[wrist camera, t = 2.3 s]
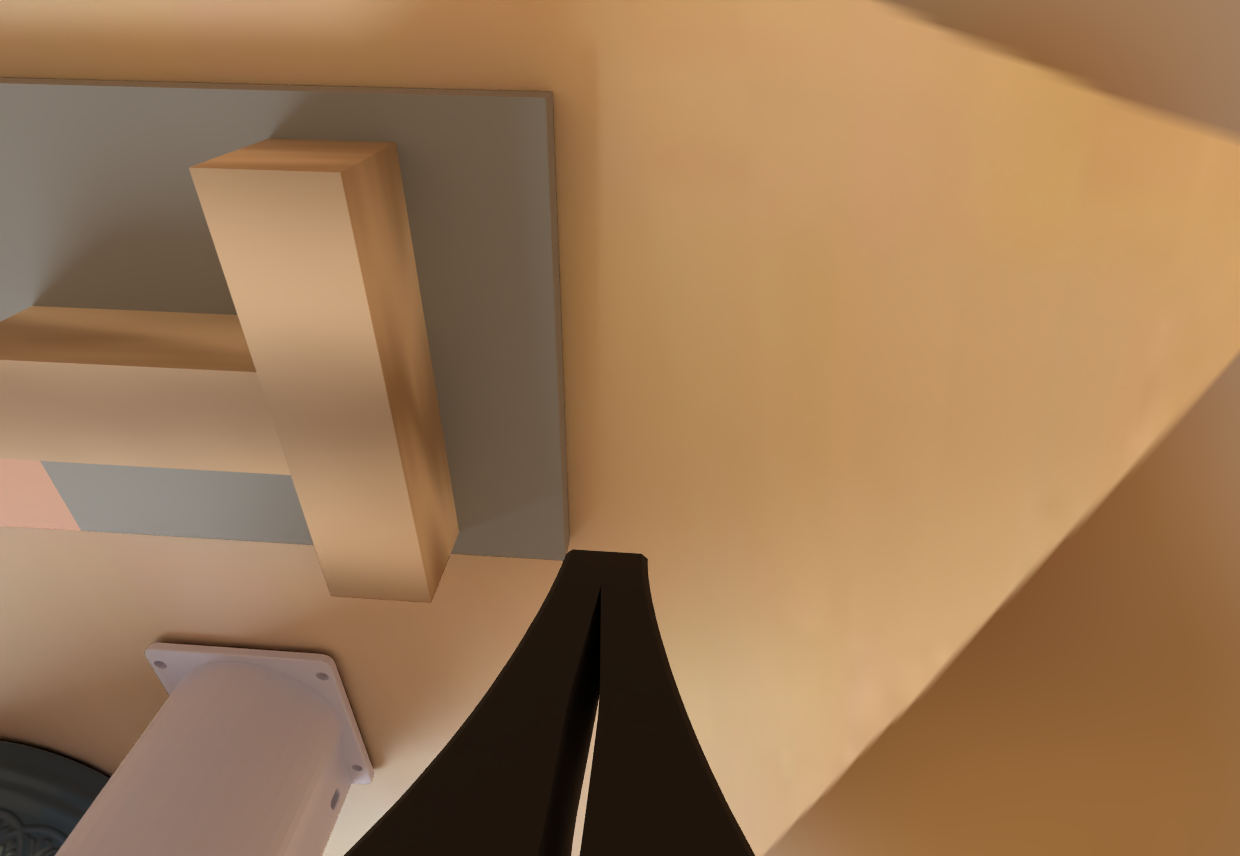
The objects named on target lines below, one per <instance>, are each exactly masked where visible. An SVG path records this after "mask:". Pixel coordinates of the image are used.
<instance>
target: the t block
mask: <svg viewBox="0 0 1240 856" xmlns="http://www.w3.org/2000/svg"><path fill="white" fill-rule="evenodd" d="M189 170H190V173H191V176H192V179H193V182H194V185H195V188H196V191H197V194H198V197H199V200H200V203H201V206H202V209H203V212H204V215H205V218H206V221H207V224H208V227H209V230H210V233H211V236H212V239H213V242H214V245H215V248H216V251H217V254H218V258H219V261H220V264H221V267H222V270H223V273H224V276H225V279H226V282H227V285H228V288H229V291H230V294H231V297H232V300H233V303H234V306H235V309H236V312H237V315H226V314H204V313H181V312H158V311H136V310H113V309H91V308H68V307H46V306H31V307H29V308H27V309H25V310H23V311H21V312H19V313H17V314H15V315H13V316H11V317H9V318H7V319H5V320H3V321H0V459H15V460H33V461H51V462H68V463H86V464H103V465H121V466H139V467H156V468H174V469H192V470H209V471H227V472H245V473H262V474H280V475H291V477H292V480H293V483H294V486H295V489H296V492H297V495H298V498H299V501H300V504H301V507H302V510H303V513H304V516H305V520H306V523H307V526H308V529H309V532H310V535H311V538H312V541H313V544H314V547H315V550H316V553H317V556H318V559H319V562H320V565H321V568H322V571H323V574H324V577H325V580H326V583H327V586H328V589H329V592H330V595H331V596H336V597H352V598H367V599H382V600H397V601H412V602H427V603H431V602H432V599H433V597H434V594H435V592H436V589H437V587H438V584H439V582H440V579H441V577H442V574H443V572H444V569H445V567H446V564H447V562H448V559H449V557H450V554H451V552H452V549H453V547H454V544H455V542H456V539H457V537H458V534H459V528H458V522H457V516H456V510H455V504H454V497H453V491H452V485H451V479H450V473H449V467H448V460H447V454H446V448H445V442H444V436H443V430H442V424H441V417H440V411H439V405H438V399H437V393H436V387H435V380H434V374H433V368H432V362H431V356H430V350H429V343H428V337H427V331H426V325H425V319H424V313H423V306H422V300H421V294H420V288H419V282H418V276H417V270H416V263H415V257H414V251H413V245H412V239H411V233H410V226H409V220H408V214H407V208H406V202H405V196H404V189H403V183H402V177H401V171H400V165H399V159H398V153H397V146H396V142H370V141H337V140H304V139H271V138H268V139H266V140H263V141H260V142H257V143H255V144H252V145H249V146H246V147H244V148H241V149H238V150H235V151H233V152H230V153H227V154H224V155H222V156H219V157H216V158H213V159H211V160H208V161H205V162H202V163H200V164H197V165H194V166H191V167H189Z"/></svg>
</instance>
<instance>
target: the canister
mask: <svg viewBox="0 0 1240 856" xmlns="http://www.w3.org/2000/svg"><path fill="white" fill-rule="evenodd" d="M109 779H110V778H109V777H107V776H105V775H103V774H102V773H100V772H98V771H96V770H94V769H92V768H89V767H87V766H85V765H83V764H81V763H78V762H76V761H74V760H71V759H69V758H66V757H63V756H60V755H58V754H55V753H52V752H48V751H45V750H42V749H38V748H35V747H31V746H27V745H23V744H18V743H13V742H7V741H1V740H0V856H55V854H56V853H57V852H58V850H59V849H60V847H61V846H62V845H63V843H64V842H65V840H66V839H67V838H68V836H69V835H70V834H71V832H72V831H73V829H74V828H75V827H76V825H77V824H78V822H79V821H80V820H81V818H82V817H83V815H84V814H85V813H86V811H87V810H88V808H89V807H90V806H91V804H92V803H93V801H94V800H95V799H96V797H97V796H98V794H99V793H100V792H101V790H102V789H103V788H104V786H105V785H106V783H107V782H108V781H109Z"/></svg>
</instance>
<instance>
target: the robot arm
mask: <svg viewBox="0 0 1240 856" xmlns="http://www.w3.org/2000/svg"><path fill="white" fill-rule="evenodd" d="M144 653H145V656H146V658H147V660H148V661H149V663H150V665H151V666H152V668H153V670H154V671H155V673H156V675H157V676H158V678H159V680H160V681H161V683H162V684H163V686H164V688H165V689H166V691H167V693H168V694H169V697H168V698H167V700H166V701H165V702H164V704H163V705H162V707H161V708H160V709H159V711H158V712H157V714H156V715H155V716H154V718H153V719H152V721H151V722H150V723H149V725H148V726H147V728H146V729H145V730H144V732H143V733H142V735H141V736H140V737H139V739H138V740H137V742H136V743H135V744H134V746H133V747H132V748H131V750H130V751H129V753H128V754H127V755H126V757H125V758H124V760H123V761H122V762H121V764H120V765H119V767H118V768H117V769H116V771H115V772H114V774H113V775H112V776H111V778H110V779H109V781H108V782H107V783H106V785H105V786H104V788H103V789H102V790H101V792H100V793H99V794H98V796H97V797H96V799H95V800H94V801H93V803H92V804H91V806H90V807H89V808H88V810H87V811H86V813H85V814H84V815H83V817H82V818H81V820H80V821H79V822H78V824H77V825H76V827H75V828H74V829H73V831H72V832H71V834H70V835H69V836H68V838H67V839H66V840H65V842H64V843H63V845H62V846H61V847H60V849H59V850H58V852H57V853H56V854H55V856H322V854H323V852H324V850H325V847H326V845H327V842H328V840H329V837H330V835H331V832H332V830H333V827H334V825H335V823H336V820H337V818H338V815H339V813H340V810H341V808H342V805H343V803H344V801H345V798H346V796H347V793H348V791H349V788H350V786H351V783H354V784H369V783H371V782H372V779H373V777H374V771H373V768H372V765H371V763H370V760H369V757H368V754H367V751H366V749H365V746H364V743H363V740H362V737H361V735H360V732H359V729H358V726H357V723H356V720H355V718H354V715H353V712H352V709H351V706H350V704H349V701H348V698H347V695H346V692H345V690H344V687H343V684H342V681H341V678H340V676H339V673H338V670H337V667H336V664H335V662H334V660H333V659H332V658H331V657H329V656H327V655H325V654H316V653H302V652H288V651H274V650H259V649H245V648H231V647H217V646H203V645H188V644H174V643H160V642H156V643H152V644H150V645H149V646H148V648H147V649H146V650H145V652H144ZM599 695H600V696H599ZM598 700H599V712H598V722H597V729H596V737H595V745H594V753H593V761H592V769H591V777H590V784H589V792H588V799H587V807H586V814H585V822H584V829H583V836H582V844H581V851H580V856H755V855H754V853H753V851H752V849H751V847H750V845H749V843H748V842H747V840H746V838H745V836H744V834H743V832H742V830H741V828H740V827H739V825H738V823H737V821H736V819H735V817H734V815H733V814H732V812H731V810H730V808H729V806H728V804H727V802H726V800H725V798H724V796H723V794H722V792H721V789H720V787H719V785H718V783H717V781H716V779H715V777H714V775H713V773H712V771H711V769H710V766H709V764H708V762H707V760H706V757H705V755H704V753H703V751H702V748H701V746H700V744H699V742H698V739H697V737H696V735H695V732H694V730H693V727H692V725H691V722H690V720H689V717H688V715H687V712H686V710H685V707H684V704H683V702H682V699H681V696H680V694H679V691H678V688H677V686H676V683H675V680H674V677H673V674H672V671H671V668H670V665H669V662H668V658H667V655H666V652H665V649H664V645H663V642H662V639H661V635H660V632H659V628H658V624H657V620H656V616H655V612H654V607H653V603H652V598H651V592H650V586H649V578H648V559H647V558H646V557H644V556H643V555H642V554H635V553H619V552H603V551H587V550H571V551H570V552H568V553H567V554H566V556H565V558H564V561H563V563H562V566H561V568H560V570H559V573H558V575H557V577H556V579H555V581H554V583H553V585H552V587H551V589H550V591H549V593H548V595H547V597H546V599H545V601H544V602H543V604H542V606H541V608H540V610H539V612H538V613H537V615H536V617H535V618H534V620H533V622H532V623H531V625H530V627H529V628H528V630H527V632H526V634H525V635H524V637H523V639H522V640H521V642H520V644H519V645H518V647H517V648H516V650H515V652H514V653H513V655H512V656H511V658H510V659H509V661H508V662H507V663H506V665H505V666H504V668H503V669H502V671H501V672H500V674H499V675H498V677H497V678H496V680H495V681H494V683H493V684H492V686H491V687H490V688H489V690H488V691H487V693H486V694H485V696H484V697H483V698H482V700H481V701H480V702H479V704H478V705H477V706H476V708H475V709H474V710H473V712H472V713H471V714H470V716H469V717H468V718H467V720H466V721H465V722H464V723H463V725H462V726H461V727H460V729H459V730H458V731H457V732H456V734H455V735H454V736H453V737H452V739H451V740H450V741H449V742H448V744H447V745H446V746H445V747H444V748H443V750H442V751H441V752H440V753H439V754H438V755H437V757H436V758H435V759H434V760H433V761H432V762H431V764H430V765H429V766H428V767H427V768H426V769H425V770H424V772H423V773H422V774H421V775H420V776H419V777H418V779H417V780H416V781H415V782H414V783H413V784H412V785H411V787H410V788H409V789H408V790H407V791H406V792H405V793H404V794H403V795H402V796H401V798H400V799H399V800H398V801H397V802H396V803H395V804H394V805H393V806H392V807H391V808H390V809H389V810H388V811H387V812H386V813H385V814H384V815H383V816H382V817H381V818H380V819H379V820H378V821H377V822H376V823H375V824H374V826H373V827H372V828H371V829H370V830H369V831H368V832H367V833H366V834H365V835H364V836H363V837H362V838H361V839H360V840H359V841H358V842H357V843H356V844H355V845H354V846H353V847H352V848H351V849H350V850H349V851H348V852H347V853H346V854H345V855H344V856H571V851H572V842H573V836H574V829H575V823H576V816H577V810H578V805H579V800H580V794H581V789H582V784H583V779H584V774H585V768H586V763H587V758H588V753H589V747H590V742H591V737H592V732H593V727H594V721H595V716H596V711H597V705H598Z"/></svg>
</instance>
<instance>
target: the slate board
mask: <svg viewBox="0 0 1240 856" xmlns="http://www.w3.org/2000/svg"><path fill="white" fill-rule="evenodd" d="M268 138H271V139H304V140H337V141H370V142H396V146H397V153H398V159H399V165H400V171H401V177H402V183H403V189H404V196H405V202H406V208H407V214H408V220H409V226H410V233H411V239H412V245H413V251H414V257H415V263H416V270H417V276H418V282H419V288H420V294H421V300H422V306H423V313H424V319H425V325H426V331H427V337H428V343H429V350H430V356H431V362H432V368H433V374H434V380H435V387H436V393H437V399H438V405H439V411H440V417H441V424H442V430H443V436H444V442H445V448H446V454H447V460H448V467H449V473H450V479H451V485H452V491H453V497H454V504H455V510H456V516H457V522H458V528H459V534H458V537H457V539H456V542H455V544H454V547H453V549H452V552H451V554H465V555H481V556H497V557H513V558H529V559H545V560H562V561H564V558H565V556H566V554H567V550H568V545H569V514H568V488H567V461H566V434H565V407H564V381H563V354H562V327H561V301H560V274H559V247H558V221H557V194H556V167H555V140H554V114H553V92H540V91H501V90H463V89H425V88H387V87H348V86H310V85H272V84H233V83H195V82H157V81H118V80H80V79H42V78H3V77H0V321H3V320H5V319H7V318H9V317H11V316H13V315H15V314H17V313H19V312H21V311H23V310H25V309H27V308H29V307H31V306H46V307H68V308H91V309H113V310H136V311H158V312H181V313H204V314H226V315H237V312H236V309H235V306H234V303H233V300H232V297H231V294H230V291H229V288H228V285H227V282H226V279H225V276H224V273H223V270H222V267H221V264H220V261H219V258H218V254H217V251H216V248H215V245H214V242H213V239H212V236H211V233H210V230H209V227H208V224H207V221H206V218H205V215H204V212H203V209H202V206H201V203H200V200H199V197H198V194H197V191H196V188H195V185H194V182H193V179H192V176H191V173H190V170H189V167H191V166H194V165H197V164H200V163H202V162H205V161H208V160H211V159H213V158H216V157H219V156H222V155H224V154H227V153H230V152H233V151H235V150H238V149H241V148H244V147H246V146H249V145H252V144H255V143H257V142H260V141H263V140H266V139H268ZM0 526H13V527H29V528H46V529H62V530H78V531H94V532H110V533H126V534H142V535H158V536H175V537H191V538H207V539H223V540H239V541H255V542H271V543H287V544H304V545H314V544H313V541H312V538H311V535H310V532H309V529H308V526H307V523H306V520H305V516H304V513H303V510H302V507H301V504H300V501H299V498H298V495H297V492H296V489H295V486H294V483H293V480H292V477H291V475H280V474H262V473H245V472H227V471H209V470H192V469H174V468H156V467H139V466H121V465H103V464H86V463H68V462H51V461H33V460H15V459H0Z"/></svg>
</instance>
